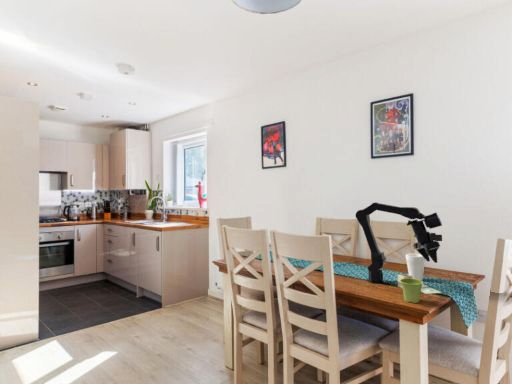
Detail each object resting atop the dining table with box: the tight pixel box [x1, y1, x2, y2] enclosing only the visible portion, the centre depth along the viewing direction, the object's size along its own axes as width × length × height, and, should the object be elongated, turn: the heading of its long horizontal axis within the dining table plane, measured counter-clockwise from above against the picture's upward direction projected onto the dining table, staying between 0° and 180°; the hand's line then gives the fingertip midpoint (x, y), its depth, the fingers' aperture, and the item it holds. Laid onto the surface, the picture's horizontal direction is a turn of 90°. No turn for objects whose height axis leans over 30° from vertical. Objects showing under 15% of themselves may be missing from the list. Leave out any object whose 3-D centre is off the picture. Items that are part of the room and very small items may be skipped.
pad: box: [421, 287, 443, 295], centre depth 158 cm, size 8×8×1 cm
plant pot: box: [400, 278, 424, 304], centre depth 145 cm, size 9×9×9 cm
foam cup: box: [405, 253, 426, 281], centre depth 179 cm, size 10×9×13 cm
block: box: [397, 273, 413, 289], centre depth 165 cm, size 5×5×6 cm
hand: (432, 261), depth 162 cm, fingers open, 9 cm apart
